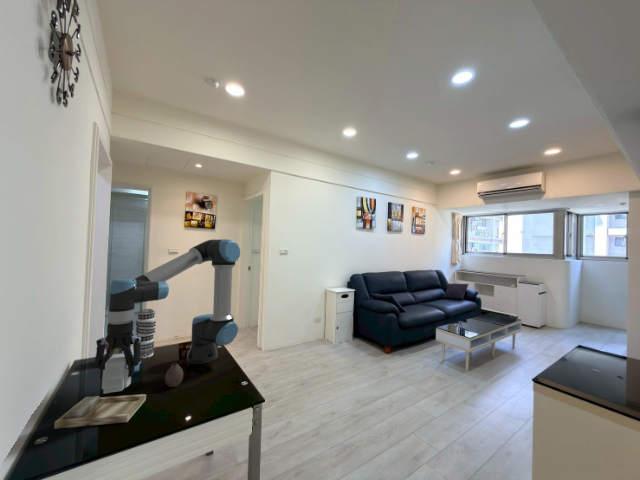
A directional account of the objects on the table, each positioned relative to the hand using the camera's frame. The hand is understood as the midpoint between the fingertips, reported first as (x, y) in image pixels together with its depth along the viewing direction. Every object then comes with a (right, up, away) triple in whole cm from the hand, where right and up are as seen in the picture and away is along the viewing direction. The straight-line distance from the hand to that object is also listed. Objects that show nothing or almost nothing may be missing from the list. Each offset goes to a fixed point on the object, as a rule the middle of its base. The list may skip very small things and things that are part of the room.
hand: (116, 386), depth 92 cm
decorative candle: (-23, -11, +48) cm, 55 cm away
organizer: (-4, -9, -1) cm, 10 cm away
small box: (0, -1, 0) cm, 1 cm away
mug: (-35, -10, +40) cm, 54 cm away
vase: (+10, -11, +19) cm, 24 cm away
